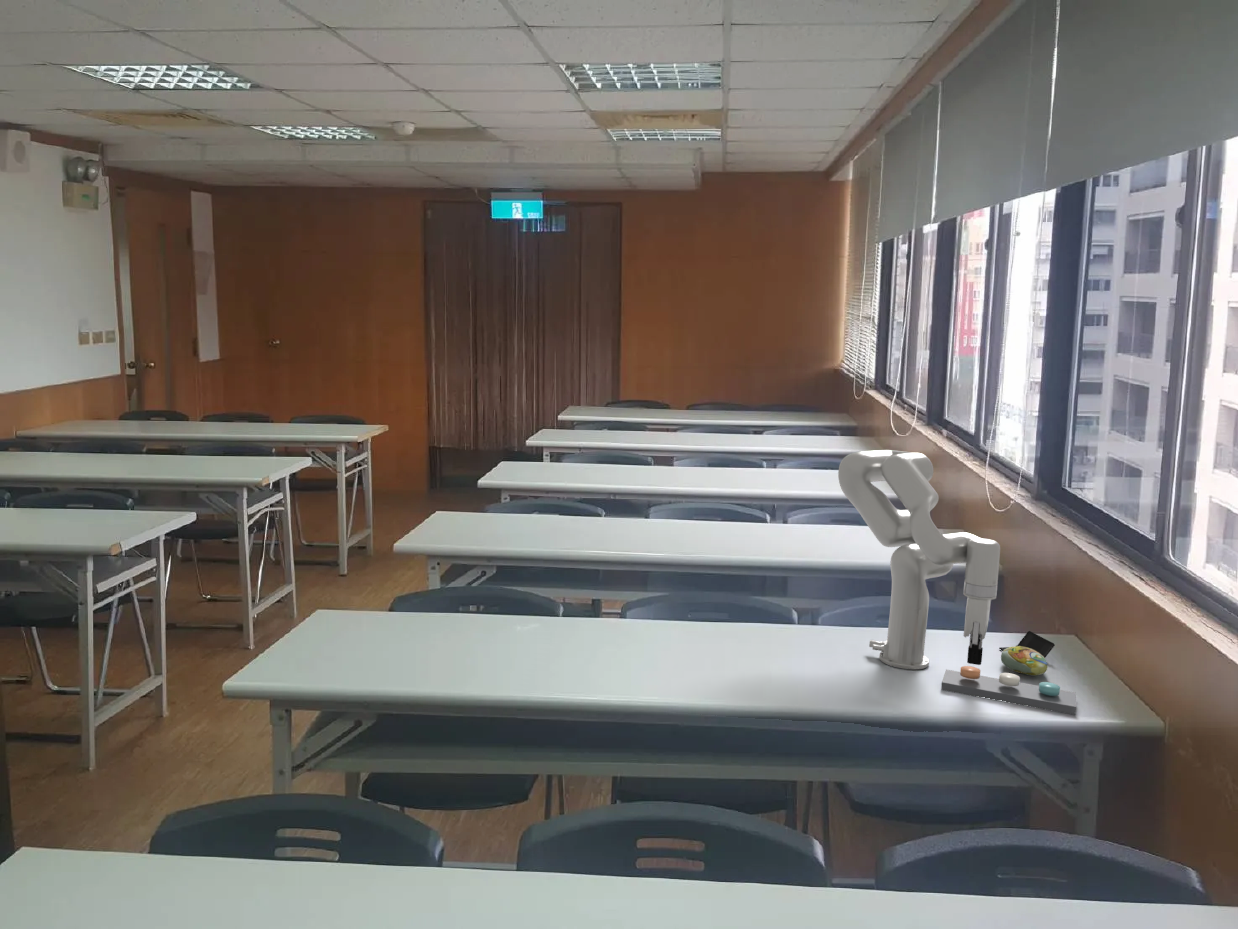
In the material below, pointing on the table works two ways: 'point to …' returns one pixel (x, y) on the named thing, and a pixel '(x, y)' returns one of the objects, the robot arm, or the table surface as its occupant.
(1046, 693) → the button teal
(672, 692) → the table surface
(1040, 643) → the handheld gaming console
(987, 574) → the robot arm
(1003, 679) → the button ivory
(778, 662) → the table surface
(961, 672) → the button terracotta
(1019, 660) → the cell model
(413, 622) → the table surface
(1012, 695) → the button panel
